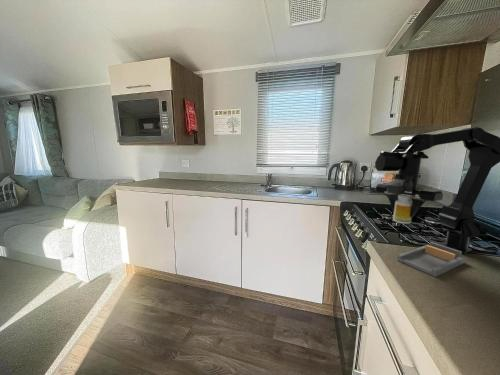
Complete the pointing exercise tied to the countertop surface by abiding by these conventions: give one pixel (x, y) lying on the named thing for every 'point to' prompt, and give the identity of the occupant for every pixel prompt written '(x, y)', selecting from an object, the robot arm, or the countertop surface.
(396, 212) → the supplement bottle
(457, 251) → the grey tray
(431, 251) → the bar
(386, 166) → the robot arm
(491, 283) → the countertop surface
